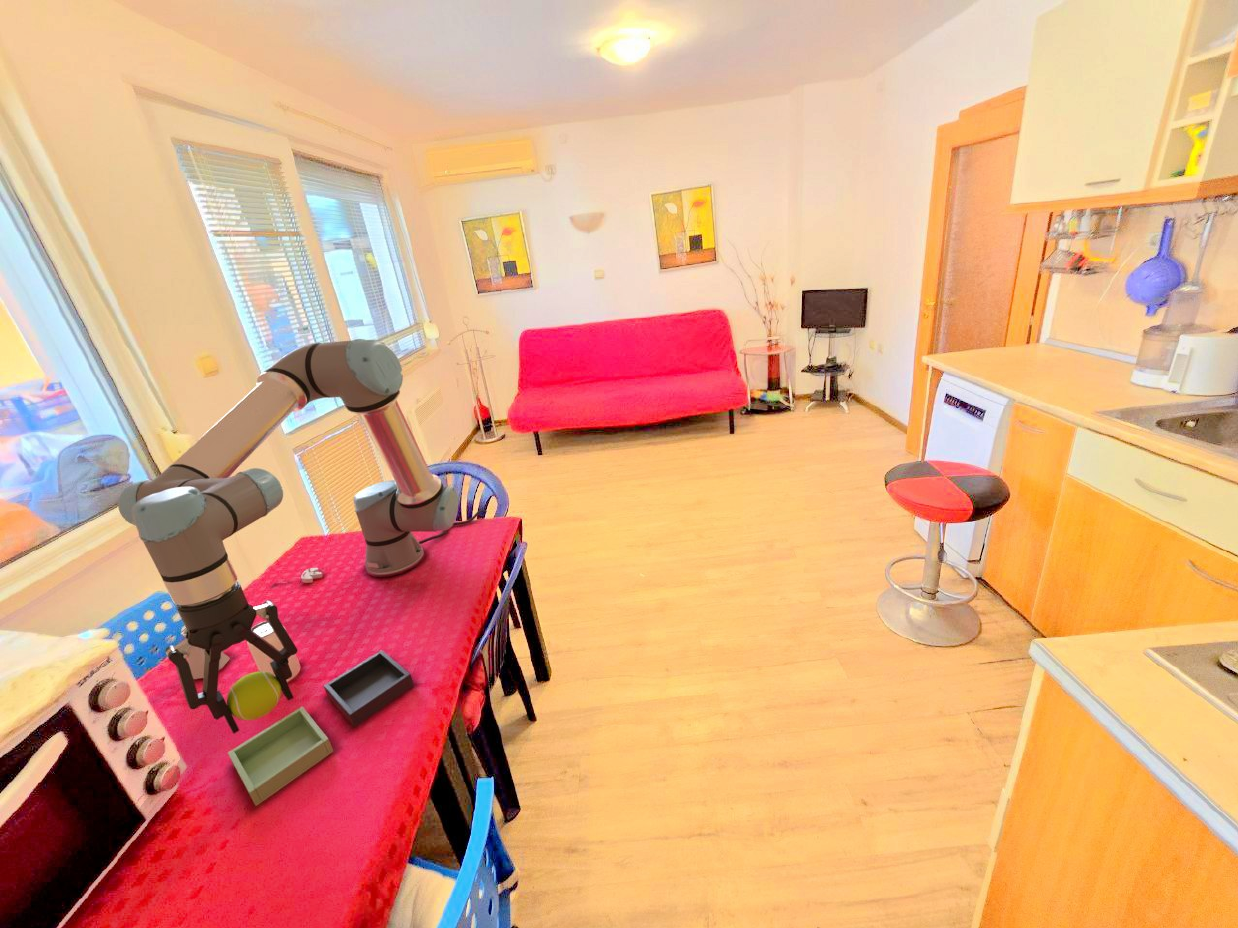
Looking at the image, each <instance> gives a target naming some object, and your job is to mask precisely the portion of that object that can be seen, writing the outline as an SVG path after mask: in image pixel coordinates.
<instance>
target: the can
mask: <svg viewBox="0 0 1238 928" xmlns="http://www.w3.org/2000/svg"><path fill="white" fill-rule="evenodd" d="M283 627H284V628H285V630H286V632H287V629H286V627H285V626H284V625H283ZM251 629H252V630H253V631H254V632H255V633H256V634H258V635H259V636H260V637H262V638H263V639H264V640H266V641H267V642H268V643H270V644H271V645H272V646H273V647H275V648H276V649H277V650H279V651H281V650H282V649H283V648H284V647H283V645H282V644H281V642H280V640H279V639H278V637H277V636H276V634H275V633H274V631H273V629H272V628H271V626H270V625H269V623H268V621H267V620H264V621H262V622H260V623H257V624H256V625H253V626H252V627H251ZM287 633H288V632H287ZM246 644H247V647H248V650H249V651H250V654H251V656H252V658H253V661H254V663H255V665H256V668H257V669H258V672H259V671H262V672H268V673H271V674H273V675H274V676H275V674H274V672H273V669H272V667H271V665H270V663H271V662H272V661H274V660H273V659H271V658H270V657H269V656H267V655H266V654H264V653H263V652H262V651H260V650H259V649H258V648H256V647H255V646H254V645H252V644H250V643H249V642H248V641H246ZM288 661H289V663H288V665H289V667H290V670H291V672H292V677H290V678H289V679H287V680H286V681H287V684H288V683H289V682H292V680H294V679H295V678H296V677H297V676H298V674H299V673H300V671H301V669H302V667H301V664H300V661H299V659H298V656H297V653H296V654H294V655H291V656H290V657H289V658H288ZM275 677H276V676H275Z"/></svg>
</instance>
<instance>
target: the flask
mask: <svg viewBox="0 0 1238 928" xmlns="http://www.w3.org/2000/svg"><path fill="white" fill-rule="evenodd" d="M186 634H187V629H186V628H185V629H184V630H182V631H181V632H180V635H181V636H182V637H184V640H185V639H186ZM189 652H190V655H189V656H188V657H187V658H186V660H187V662H188V663H189V666H190V670H191V673H192V676H193V680H199V679H203V677H204V662H205V653H204V649H202V648H198V647H195V646H191V647H190V648H189ZM230 660H231V657H229V656H228V655H227V654H226V653H224V652H223V651H222V652H221V658H220V660H219V671H220V670H222V669H223V668H224V667H225V665H227V663H228V662H229V661H230Z"/></svg>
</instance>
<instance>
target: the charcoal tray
mask: <svg viewBox="0 0 1238 928" xmlns="http://www.w3.org/2000/svg"><path fill="white" fill-rule="evenodd" d="M414 686H415V684H414V681H413V678H412V674H411V673H410V672H409V671H407V670H406V669H405V668H404V667H402V666H401V664H399V663H398V662H397V661H396V660H394V659H393V658H392V657H391V656H390V655H389V654H387V653H386V652H385V651H384V650H383V649H381V650H379V651H378V652H376V653H375V654H373V655H371V656H369V657H368V658H366V659H364V660H363V661H361V662H359V663H358V664H356V665H355V666H353V667H350V669H348V670H346V671H345V672H343V673H342V674H340V675H338V676H337V677H335V678H334V679H332V680H330V681H329V682H327V683H326V684H324V685H323V689H324V691H325V694H326V696H327V698H328V699H329V700H330V702H331V703H332V704H333V705H334V707H336V709H338V711H339V712H340V713H341V714H342V716H344V717H345V718H346V720H347V721H348V722H349V724H350V725H352V726H353V727H354V728H355V727H357V726H359V725H360V724H362V723H363V722H365V721H366V720H367V719H369V718H370V717H372V716H373V715H374V714H377V712H379V711H380V710H382V709H384V708H385V707H386V706H388V705H389V704H391V703H392V702H393V701H395V700H396V699H398V698H399V697H400V696H402V695H404V694H405V693H406V692H407V691H409V690H410V689H412V688H413V687H414Z"/></svg>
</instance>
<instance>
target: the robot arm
mask: <svg viewBox="0 0 1238 928" xmlns="http://www.w3.org/2000/svg"><path fill="white" fill-rule="evenodd" d="M402 372H403V367H402V365H401V362H400V360H399V358H398V356H397V355H396V353H395V352H394V350H393V349H392V348H391V347H390V346H389V345H388V344H387V343H385V342H382V341H381V340H378V339H365V338H363V339H362V338H356V339H351V340H340V341H330V342H327V341H326V342H312V343H309V344H305V345H303V346H299V347H298V348H295V349H293V350H292V351H290V352H288V353H287V354H286V355H284V356H282V357H281V358H280V359H278V360H276V361H275V362H274V363H272V364H271V365H270V366H268V368H267V369H265V370H264V371H263V372H262V373H261V374H259V376H258V377H257V379H256V386H255V387H254V388H253V389H252V390H251V391H250V392H249V393H248V394H247V395H245V396H244V397H243V398H242V399H241V400H240V401H239V402H238V403H237V404H235V406H233V407H232V408H231V409H230V410H229V411H228V412H227V413H226V414H225V415H224V416H222V417H221V418H220V419H219V420H218V421H217V422H216V423H215V424H214V425H213V426H211V428H209V430H207V431H206V432H205V433H204V434H203V435H202V436H200V438H198V439H197V440H196V441H195V442H194V443H193V444H192V445H191V446H190V447H189V448H188V449H186V451H184V452H183V453H182V454H181V455H180V456H179V457H178V458H177V459H176V460H174V461H173V462H172V463H171V464H170V465H169V466H168V467H166V469H165V470H163V471H162V472H161V473H160V474H159V475H157V476H156V477H155V478H154V479H152V478H151V479H149V478H147V479H144V480H140V481H135V482H133V483H131V484H129V485H128V486H126V487H125V488H124V489H123V490H122V492H121V493H120V495H119V497H118V501H117V507H118V511H119V514H120V516H121V517H122V518H123V519H124V520H125V522H128V523H129V524H131V525H133V526H135V528H136V530H137V533H138V537H139V539H140V540H141V541H142V543H143V544H144V546H145V548H146V551H147V552H148V554H149V556H150V558H151V560H152V562H153V564H154V565H155V568H156V569H157V572H158V573H159V575H160V577H161V579H162V582H163V584H164V586H165V588H166V590H167V593H168V595H169V596H170V598H171V600H172V602H173V604H174V605H176V607H175V608H176V610H177V612H178V613H177V614H178V615H179V617H180V619H181V621H182V623H183V625H184V628H185V629H187V634H186V639H185V638H184V640H182V641H180V642H179V643H177V644H176V645H169V646H167V647H166V648H165V650H164V652H165V654H166V656H167V658H168V660H169V661H170V662H171V663H172V664H173V665H175V668H176V669H175V670H176V673H177V675H178V678H179V682H180V686H181V689H182V692H183V695H184V699H185V701H186V703H187V705H188V707H189V709H190V710H196V709H198V708H199V707H200V706H207V707H208V709H209V711H210V713H211V715H212V717H213V719H215V720H219V719H221V718H223V717H224V718H225V720H226V723H227V725H228V726H229V728H230V730H231V732H232V734H236V733H238V732H240V729H239V726H238V724H237V722H236V720H235V719H234V718H235V717H234V716H233V715H232V714H231V712H230V710H229V708H228V706H227V701H226V700H225V697H224V696H223V694H222V693H221V691H220V690H218V687H219V686H218V685H219V671H220V670H219V660H220V658H221V652H222V653H223V652H224V651H226V650H227V649H229V648H230V647H232V646H234V645H237V644H240V643H242V642H244V641H246V642H247V641H248V642H249V643H250V644H252V645H254V646H255V647H256V648H258V649H259V650H260V651H262V652H263V653H264V654H266V655H267V656H269V657H270V658H271V659H273V660H274V661H272V662H271V663H270V665H271V667H272V669H273V672H274V674H275V676H276V678H277V679H278V680H279V682H280V685H281V694H283V696H284V697H285V699H286V700H287V701H291V700H292V699H294V696H293V693H292V691H291V689H290V686H289V684H288V683H287V681H286V680H287V679H289V678H290V677H292V672H291V670H290V667H289V665H288V663H289V661H288V658H289V657H290V656H291V655H294V654H296V655H297V653H298V652H299V651H298V648H297V646H296V644H295V643H294V641H293V640H292V638H291V637H290V635H289V633H288V632H286V631H287V629H286V627H285V626H284V625H283V624H282V621H281V620H280V619H279V612H278V606H277V605H276V604H275V603H274V602H273V601H272V600H270V599H269V600H266V601H264V602H263V604H261V605H257V606H253V605H251V604H250V603H249V602H248V599H247V597H246V594H245V591H244V590H243V588H242V585H241V583H240V582H239V581H238V575H237V573H236V571H235V568H234V566H233V564H232V562H231V560H230V558H229V555H228V553H227V550H226V546H225V544H224V542H223V541H225V540H226V539H227V538H230V537H232V536H233V535H234V534H236V533H237V532H240V531H241V530H243V529H244V528H246V527H248V526H249V525H251V524H253V523H255V522H256V521H258V520H260V519H261V518H264V517H266V516H267V515H269V513H270V512H272V511H273V510H275V509H276V508H277V507H279V506H280V504H281V503H282V502H283V498H284V490H283V486H282V485H281V482H280V480H279V479H278V478H277V477H276V475H274V474H273V473H271V472H270V471H268V470H266V469H263V468H258V467H254V468H249V469H246V470H243V471H238V470H239V469H240V467H241V466H242V465H243V464H244V463H245V462H247V460H248V459H250V458H251V456H252V455H253V454H254V453H255V452H256V451H257V450H258V449H259V448H260V446H262V444H263V443H264V442H265V441H266V440H267V439H268V438H269V437H270V436H271V435H272V434H273V433H274V432H275V431H276V429H278V428H279V426H280V425H282V423H284V422H285V421H286V419H287V418H288V417H289V416H290V415H291V414H292V413H294V412H300V411H302V410H303V409H304V408H305V407H306V406H307V405H308V404H309V403H311V402H313V401H316V400H320V399H325V398H331V399H333V398H339V399H341V401H342V403H343V404H344V406H345V408H346V410H347V411H348V412H349V413H352V414H356V415H358V417H359V418H360V420H361V422H362V424H363V426H364V428H365V430H366V431H367V433H368V435H369V437H370V439H371V441H372V443H373V444H374V447H375V448H376V450H377V452H378V454H379V456H380V458H381V459H382V461H383V463H384V465H385V467H386V469H387V470H388V472H389V474H390V476H391V478H392V480H385V481H381V482H377V483H375V484H372V485H369V486H367V487H365V488H363V489H361V490H360V491H359V492H357V493H356V494H355V495H354V498H353V504H354V505H353V506H354V509H355V510H354V512H355V513H356V517H357V520H358V523H359V526H360V529H361V532H362V534H363V538H364V542H365V545H366V547H365V557H364V558H365V559H364V560H365V561H364V567H365V570H366V573H367V574H368V575H369V576H371V577H375V578H389V577H393V576H394V577H395V576H397V575H400V574H403V573H406V572H408V571H410V570H412V569H414V568H415V567H417V566H418V565H419V564H420V563H421V562H422V561H423V560H424V557H425V551H424V549H423V546H422V544H425V543H427V542H429V541H432V540H436V539H439V538H441V537H443V536H444V535H445V534H446V532H447V531H448V530H450V529H451V528H452V527H453V526H460V525H461V526H462V525H467V524H469V523H471V522H472V521H474V520H475V519H476V518H477V517H478V515H480V514H481V513H484V514H486V513H487V512H488V511H487V510H485V509H480V510H478V511H477V512H476V513H475V514H474V515H473V516H472V517H471V518H469V519H467V520H464V521H457V522H456V519H457V517H458V511H459V496H458V495H459V494H458V492H457V489H456V488H455V487H453V486H448V485H447V486H444V483H443V482H442V480H441V477H439V476H438V475H437V474H434V473H431V471H430V468H429V466H428V464H427V462H426V460H425V458H424V456H423V454H422V451H421V449H420V447H419V445H418V442H417V441H416V439H415V437H414V434H413V432H412V430H411V428H410V426H409V424H408V421H407V420H406V417H405V414H404V413H403V411H402V408H401V407H400V405H399V404H400V403H399V402H398V398H399V397H400V394H401V388H402V385H403V381H404V376H403V374H402ZM237 471H238V472H237ZM236 472H237V473H236ZM235 473H236V474H235ZM413 532H415V533H416V532H419V533H420V532H421V533H423V532H424V533H425V532H426V533H427V532H430V533H433V532H434V533H436V532H441V533H439V534H437V535H433V536H430V537H427V538H424V539H422V540H420V541H419V540H418V539H417V538H416V536H415V535H414V533H413ZM256 616H260V618H261V619H262V620H265V621H268V623H269V625H270V626H271V628H272V629H273V631H274V633H275V634H276V636H277V637H278V639H279V640H280V642H281V644H282V645H283V647H284V648H283V649H282V650H281V651H279V650H277V649H276V648H275V647H273V646H272V645H271V644H270V643H268V642H267V641H266V640H264V639H263V638H262V637H260V636H259V635H258V634H256V633H255V632H254V631H253V630H252V629H251V628H253V626H254V622H255V619H256ZM283 626H284V627H285V628H284V627H283ZM285 629H286V630H285ZM191 646H195V647H198V648H202V649H204V653H205V662H204V677H203V678H202V680H203V681H202V691H201V692H199V693H198V690H197V687H196V684H195V679H193V676H192V673H191V670H190V666H189V663H188V662H187V657H188V656H189V655H190V652H189V648H190V647H191Z"/></svg>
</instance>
